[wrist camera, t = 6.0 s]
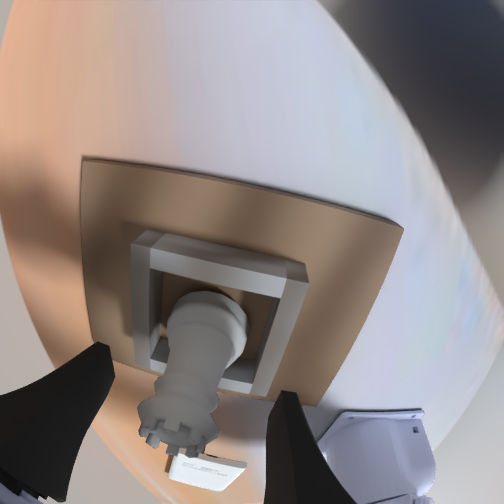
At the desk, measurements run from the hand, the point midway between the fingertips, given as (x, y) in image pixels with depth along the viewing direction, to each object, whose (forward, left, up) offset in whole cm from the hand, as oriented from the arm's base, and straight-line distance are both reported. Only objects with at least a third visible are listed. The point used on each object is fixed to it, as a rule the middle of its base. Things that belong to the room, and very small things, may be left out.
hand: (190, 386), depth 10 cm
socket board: (0, 0, -6) cm, 6 cm away
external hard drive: (-1, +28, -7) cm, 29 cm away
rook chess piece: (0, +1, -6) cm, 6 cm away
